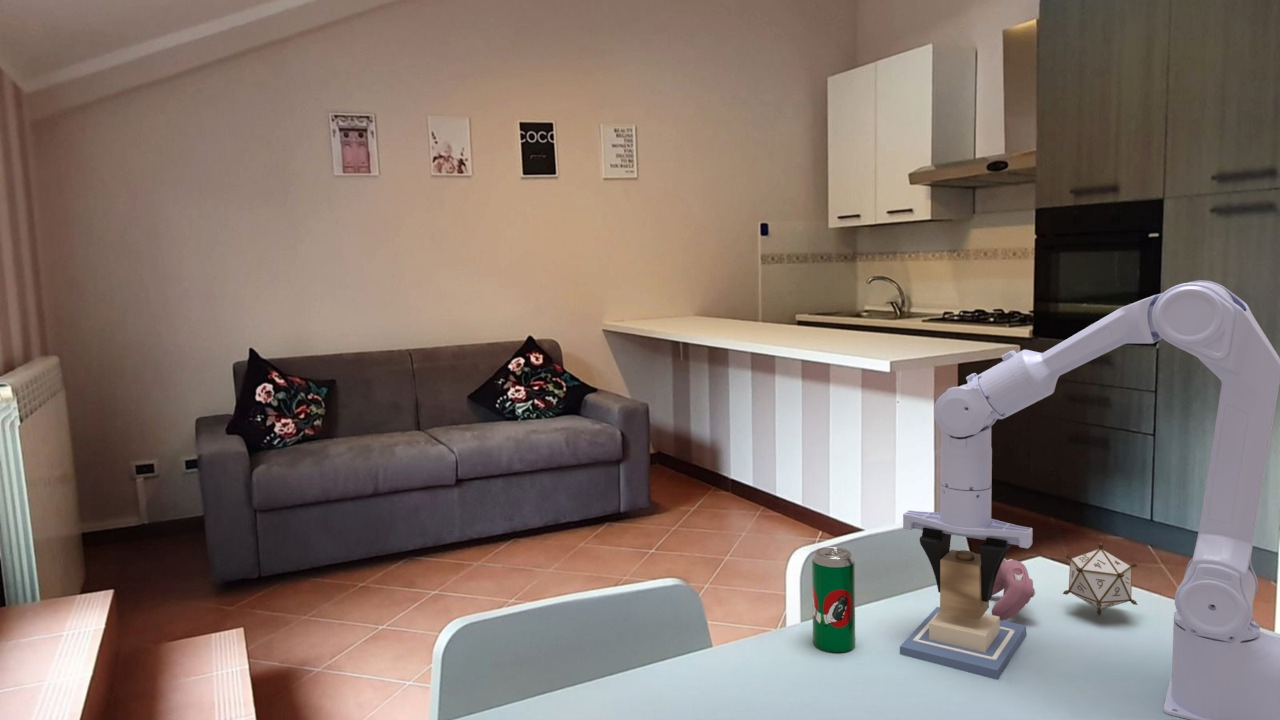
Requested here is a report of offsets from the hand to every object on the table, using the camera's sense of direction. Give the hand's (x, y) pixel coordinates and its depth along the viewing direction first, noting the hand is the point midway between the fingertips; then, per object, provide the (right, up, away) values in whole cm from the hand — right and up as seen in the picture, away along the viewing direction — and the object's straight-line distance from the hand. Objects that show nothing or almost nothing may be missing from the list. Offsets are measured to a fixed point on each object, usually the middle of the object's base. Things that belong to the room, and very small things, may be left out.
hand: (964, 594), depth 101 cm
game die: (+21, -5, +8) cm, 23 cm away
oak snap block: (0, -2, 0) cm, 2 cm away
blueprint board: (0, -6, +1) cm, 6 cm away
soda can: (-16, -7, +1) cm, 17 cm away
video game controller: (+9, -5, +10) cm, 15 cm away
